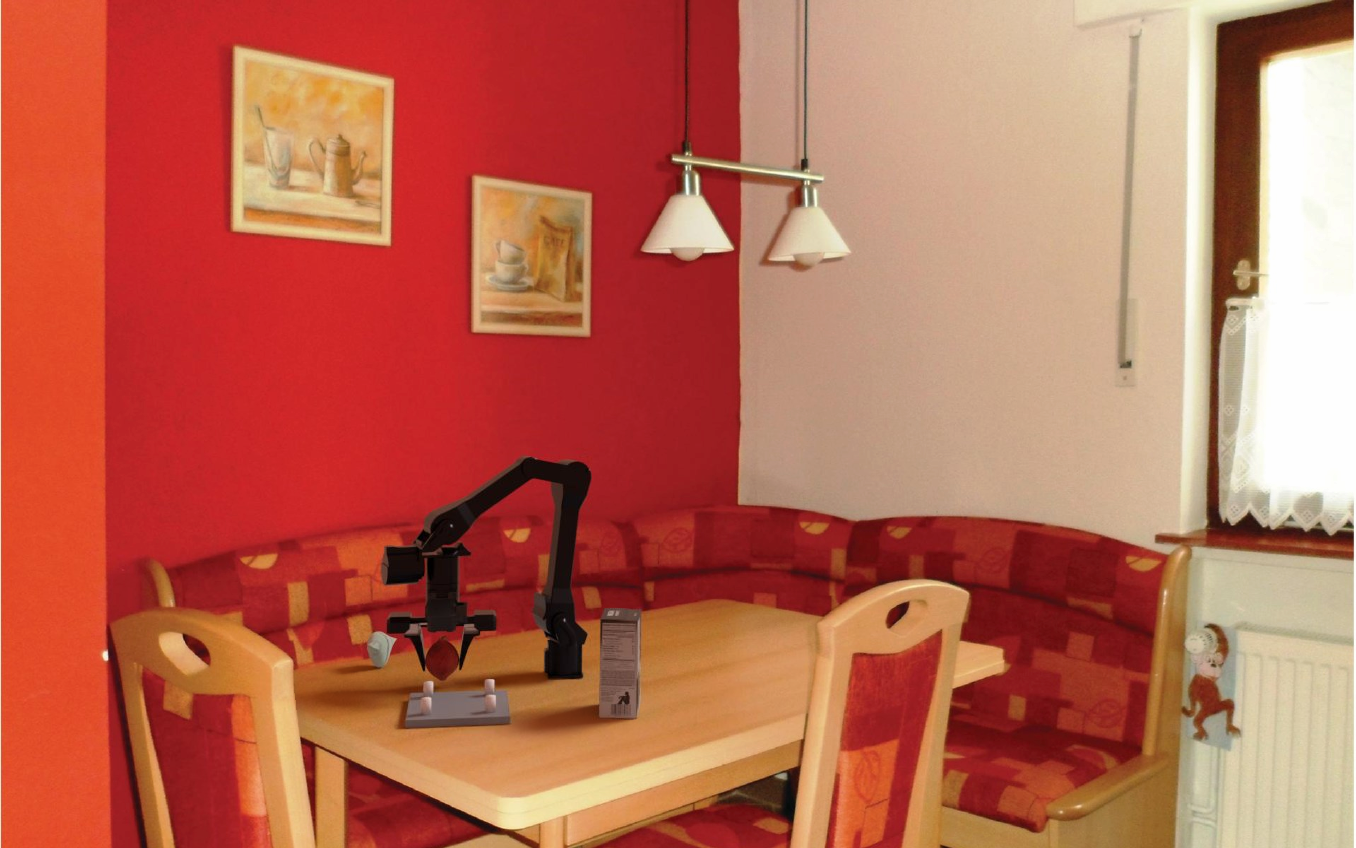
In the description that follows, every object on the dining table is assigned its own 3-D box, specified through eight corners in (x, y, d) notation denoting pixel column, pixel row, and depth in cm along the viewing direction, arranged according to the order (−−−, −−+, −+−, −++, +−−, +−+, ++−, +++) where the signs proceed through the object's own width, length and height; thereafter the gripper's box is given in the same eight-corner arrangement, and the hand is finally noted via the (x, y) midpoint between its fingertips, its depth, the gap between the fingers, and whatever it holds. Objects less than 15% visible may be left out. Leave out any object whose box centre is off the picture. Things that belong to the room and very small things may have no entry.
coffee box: (603, 703, 189) (604, 607, 188) (641, 703, 189) (642, 608, 188) (597, 718, 180) (598, 618, 179) (637, 719, 179) (639, 618, 179)
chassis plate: (506, 696, 192) (507, 675, 192) (510, 724, 176) (510, 700, 176) (410, 700, 189) (410, 678, 189) (405, 728, 173) (405, 704, 173)
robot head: (376, 673, 207) (376, 636, 206) (357, 671, 208) (357, 635, 208) (399, 663, 214) (399, 628, 214) (380, 662, 215) (381, 626, 215)
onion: (442, 686, 193) (442, 640, 193) (418, 682, 196) (418, 636, 196) (465, 679, 198) (466, 634, 198) (441, 675, 201) (441, 630, 201)
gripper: (384, 591, 187) (384, 684, 188) (497, 588, 191) (497, 680, 191) (389, 580, 198) (388, 668, 199) (496, 578, 202) (495, 664, 202)
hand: (442, 670), depth 197 cm, fingers closed on onion, 6 cm apart
